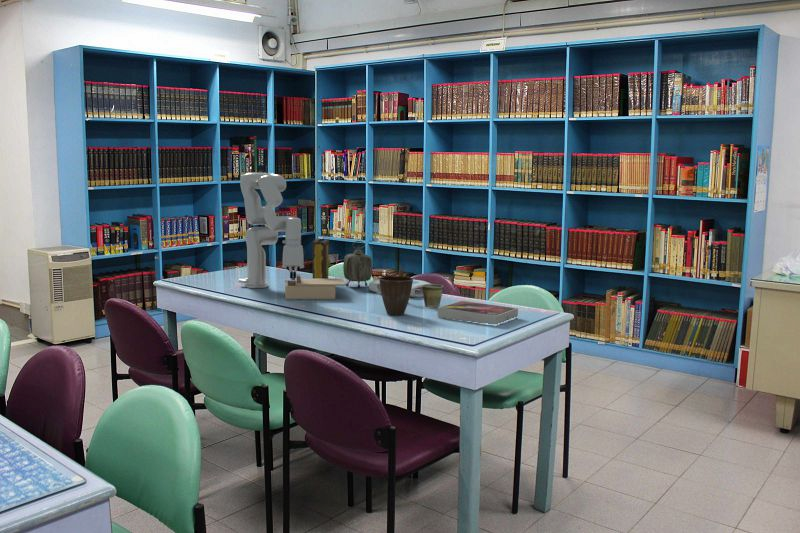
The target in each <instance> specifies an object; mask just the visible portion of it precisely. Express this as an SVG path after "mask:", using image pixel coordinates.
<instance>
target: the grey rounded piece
mask: <svg viewBox="0 0 800 533" xmlns="http://www.w3.org/2000/svg"><path fill="white" fill-rule="evenodd" d="M356 243H361V244H363V246H361V247H360V246H359V245H358V246H357V247H355V246H354V244H356ZM351 246H352V248H353V249H355V250H354V251H353V253H347V254H346V255H344V260H343V263H342V264H343V266H342V268H343V271H342V272H343V277H344V278H345V279H346V280H348V282H347V283H345V284H346V286H345V287H349V285H350V282H357V283H358V285H357V288H358V289H360V288H361V284H360V282H364V286H366V287H367V286H369V283H367V281H370V280H371V279H372V276H373V260H372V257H371V256H370V255H368V254H365V253H364V252H363V250H362V249H363V248H365V247H366V244H365V242H364V241H361V240H357V241H354V242H353V243H352V245H351Z"/></svg>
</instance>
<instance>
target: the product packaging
mask: <svg viewBox="0 0 800 533" xmlns="http://www.w3.org/2000/svg"><path fill="white" fill-rule="evenodd" d="M517 316H519V308H518V307H517V308H516V307H512V306H511V307H510V306H504V305H496V304H488V303H481V302H474V301H466V300H459V301H456V302H453V303H448V304H446V305H441V306H439V307H438V308H437V317H440V318H439V319H443V318H447V319H446V320H449V319H455V320H454V321H456V320H462V321H471V322H478V323H488V324H498V323H501V322H504V321H506V320H509V319H511V318H514V317H517ZM462 321H461V322H462Z"/></svg>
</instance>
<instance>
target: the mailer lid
mask: <svg viewBox="0 0 800 533" xmlns="http://www.w3.org/2000/svg"><path fill="white" fill-rule="evenodd" d="M295 283H296V286H335V287H338V286H339V287H347V286H346V284H347V283H346V282H345V280H344V278H328V279H326V278H313V277H312V278H309V277H308V278H302V277H301V274H300V273H296V278H295Z"/></svg>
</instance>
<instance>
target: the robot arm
mask: <svg viewBox="0 0 800 533" xmlns="http://www.w3.org/2000/svg"><path fill="white" fill-rule="evenodd" d="M239 184H240V190H241V193H242V196H243V200H244V209H245V210H244V211H245V218H246V222H247V223H248V224H249V225H252V226H253V225H255V226H254V227H249V228H247V229H246V231H245V234H244V237H245V243H246V249H247V252H246V258H247V259H246V261H247V263H246V264H247V269H246V270H247V274H246V276H247V277H246V278H239V279H238V283H241V284H244V287H245V288H249V289H263V288H265V289H266V288H268V287H269V283H267V282H266V279H267V278H266V277H267V276H266V275H267V274H266V267H267V266H266V265H267V264H266V263H267V262H266V260H267V258H266V257H267V256H266V255H267V254H266V251H265V249H264V248H263V246H267V245H275V244H277V242H278V239H279V233H280V232H285V239H284V240H282V244H285V245H283V249H282V266H281V268H282V269H286V270H287V271H288V272H289V278H290V280H295V278H297V271H299V270H300V269H304V268H305V263H304V262H305V261H304V260H305V258H304V248H303V245H302V220H301V218H299V217H294V216H288V215H287V216H286V215H282V216H277V214H276V211H275V208H277V207H279V206H280V205H281V204H282V203H283V200H284V198H283V196H282V192H284V191H286V189H287V181H286V179H285V177H284V176H282V175H280V174H275V173H273V172H272V173H271V172H269V173H268V172H247V173H245V174H243V175H242V176H241V178H240V183H239ZM257 190H260V192H261V195H262V197H263V199H264V201H265V202H266V204H265V206H262V200H261V197H260V194H259V193H258V192H257ZM257 225H258V226H257ZM260 225H264V226H260ZM292 267H294V269H293V268H292Z"/></svg>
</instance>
